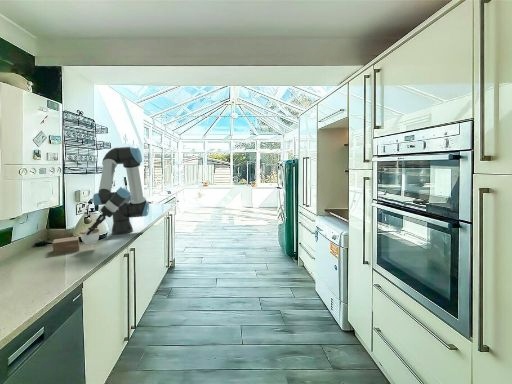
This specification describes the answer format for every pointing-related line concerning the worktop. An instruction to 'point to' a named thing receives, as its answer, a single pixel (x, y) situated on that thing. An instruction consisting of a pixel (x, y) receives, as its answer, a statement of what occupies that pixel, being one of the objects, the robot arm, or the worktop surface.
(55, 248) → the walnut block
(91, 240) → the lidded jar
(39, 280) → the worktop surface
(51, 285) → the worktop surface
